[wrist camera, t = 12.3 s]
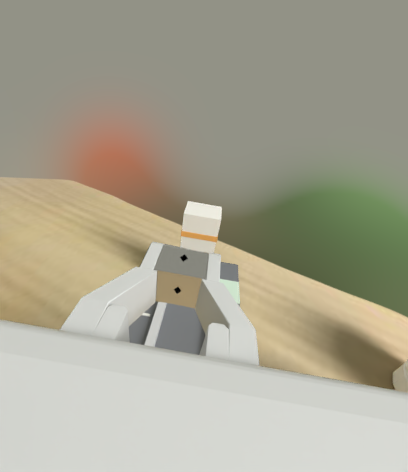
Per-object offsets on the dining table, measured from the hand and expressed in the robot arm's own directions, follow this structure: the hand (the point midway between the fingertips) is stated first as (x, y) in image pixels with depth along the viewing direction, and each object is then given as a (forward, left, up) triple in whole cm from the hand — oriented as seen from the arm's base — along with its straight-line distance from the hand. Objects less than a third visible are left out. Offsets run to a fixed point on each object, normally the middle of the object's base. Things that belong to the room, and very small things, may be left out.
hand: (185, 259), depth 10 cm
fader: (-6, +13, -17) cm, 22 cm away
